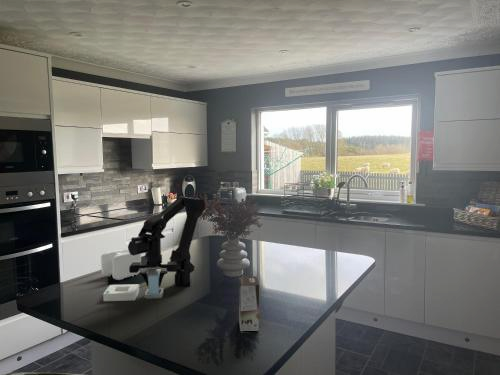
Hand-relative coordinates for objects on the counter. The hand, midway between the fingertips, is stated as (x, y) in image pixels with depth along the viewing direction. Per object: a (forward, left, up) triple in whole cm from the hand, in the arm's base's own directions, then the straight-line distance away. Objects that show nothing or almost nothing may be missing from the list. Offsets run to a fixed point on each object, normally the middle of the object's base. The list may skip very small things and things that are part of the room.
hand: (154, 287), depth 158 cm
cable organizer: (+19, -26, -4) cm, 32 cm away
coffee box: (-36, +31, -4) cm, 48 cm away
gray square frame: (0, 0, -3) cm, 3 cm away
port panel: (+13, 0, -3) cm, 13 cm away
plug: (0, 0, -3) cm, 3 cm away
